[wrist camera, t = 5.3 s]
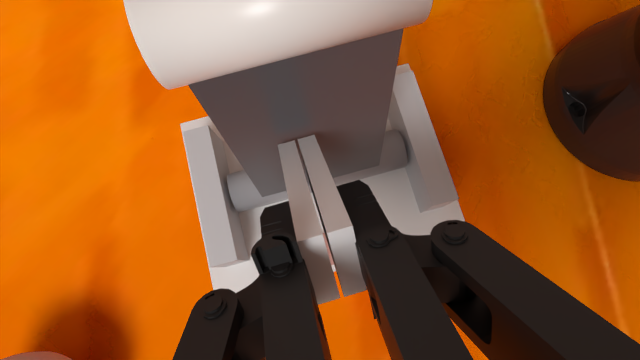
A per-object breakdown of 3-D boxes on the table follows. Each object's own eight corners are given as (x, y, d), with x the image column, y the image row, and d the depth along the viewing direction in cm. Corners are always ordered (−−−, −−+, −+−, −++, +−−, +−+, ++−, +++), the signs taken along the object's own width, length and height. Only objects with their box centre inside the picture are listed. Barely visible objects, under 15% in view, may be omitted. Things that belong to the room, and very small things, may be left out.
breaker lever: (405, 177, 23) (489, -54, 9) (243, 221, 23) (77, 52, 9) (390, 136, 25) (444, -125, 10) (235, 178, 24) (76, -32, 10)
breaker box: (428, 242, 33) (489, 229, 20) (251, 292, 32) (199, 310, 20) (387, 118, 35) (418, 37, 23) (222, 162, 35) (160, 105, 22)
